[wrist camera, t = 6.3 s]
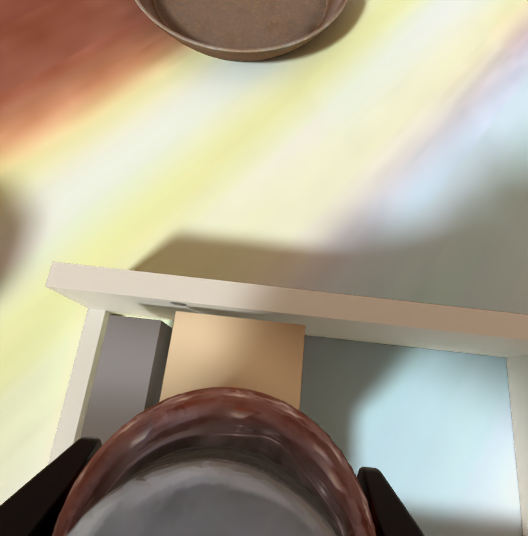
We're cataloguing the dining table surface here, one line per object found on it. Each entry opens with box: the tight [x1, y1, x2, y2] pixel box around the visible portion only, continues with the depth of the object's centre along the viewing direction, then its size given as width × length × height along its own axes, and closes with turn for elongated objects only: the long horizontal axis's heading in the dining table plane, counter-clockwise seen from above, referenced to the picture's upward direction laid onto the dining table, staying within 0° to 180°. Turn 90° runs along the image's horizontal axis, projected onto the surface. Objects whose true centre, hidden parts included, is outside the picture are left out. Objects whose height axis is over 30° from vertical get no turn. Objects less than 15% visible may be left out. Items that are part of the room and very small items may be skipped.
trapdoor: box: [80, 311, 305, 445], centre depth 17 cm, size 12×9×3 cm
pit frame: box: [45, 262, 528, 536], centre depth 18 cm, size 15×26×6 cm, turn 84°
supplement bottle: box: [52, 387, 376, 536], centre depth 9 cm, size 6×6×11 cm
